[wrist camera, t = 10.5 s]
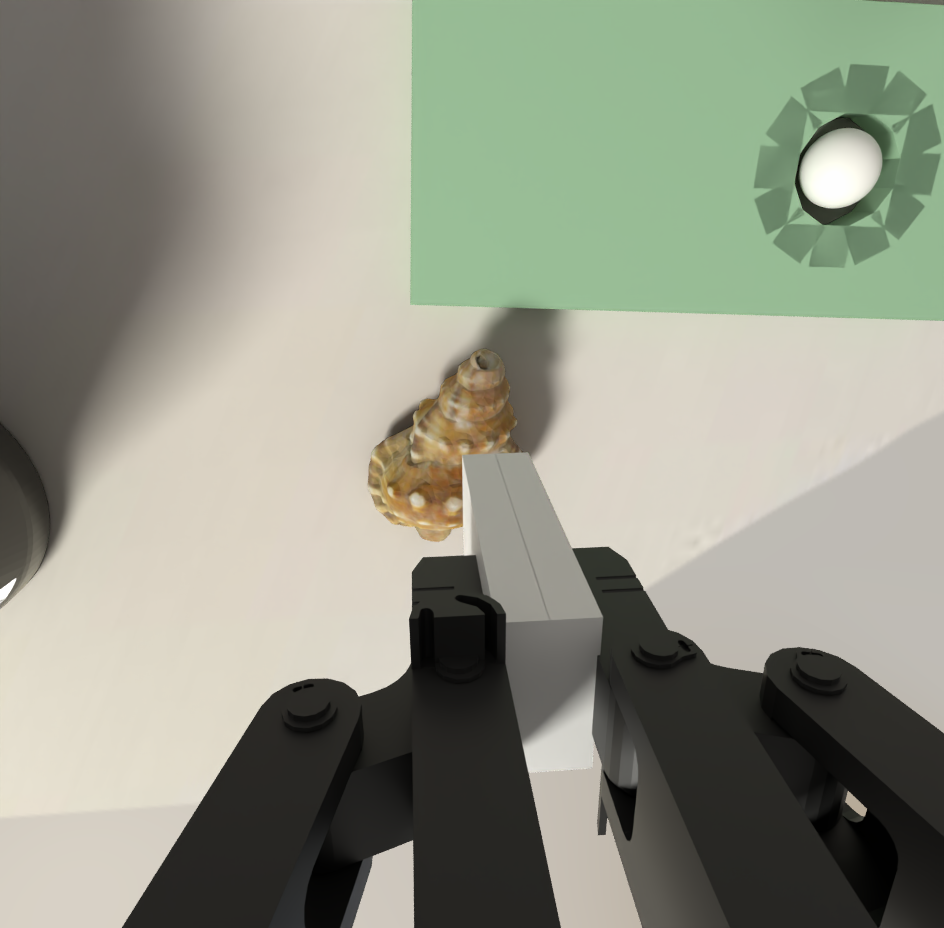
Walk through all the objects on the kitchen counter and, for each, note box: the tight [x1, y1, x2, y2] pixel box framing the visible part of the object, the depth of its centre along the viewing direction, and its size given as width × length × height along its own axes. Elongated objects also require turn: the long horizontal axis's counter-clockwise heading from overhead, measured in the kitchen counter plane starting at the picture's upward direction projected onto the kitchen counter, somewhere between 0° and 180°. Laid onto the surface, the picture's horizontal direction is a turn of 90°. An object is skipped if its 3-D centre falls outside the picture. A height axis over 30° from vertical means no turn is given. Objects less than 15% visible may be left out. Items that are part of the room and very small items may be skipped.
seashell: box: [368, 349, 523, 542], centre depth 37 cm, size 9×8×10 cm
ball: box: [799, 128, 882, 208], centre depth 34 cm, size 4×4×4 cm
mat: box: [410, 0, 944, 321], centre depth 34 cm, size 28×14×2 cm, turn 88°
